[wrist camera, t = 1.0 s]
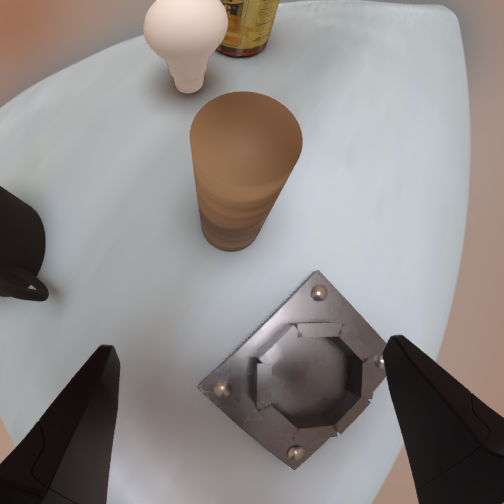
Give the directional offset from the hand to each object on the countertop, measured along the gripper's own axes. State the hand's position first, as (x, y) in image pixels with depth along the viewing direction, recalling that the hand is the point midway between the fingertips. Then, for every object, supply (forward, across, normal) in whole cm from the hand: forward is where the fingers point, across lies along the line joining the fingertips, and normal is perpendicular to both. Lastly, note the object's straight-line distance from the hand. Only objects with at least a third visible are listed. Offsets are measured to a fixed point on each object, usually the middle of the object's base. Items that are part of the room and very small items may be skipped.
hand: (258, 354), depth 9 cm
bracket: (+7, -5, +12) cm, 15 cm away
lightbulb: (+24, +4, -5) cm, 25 cm away
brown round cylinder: (+15, 0, +4) cm, 16 cm away
